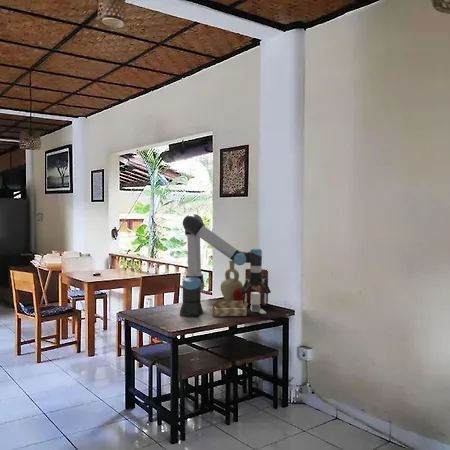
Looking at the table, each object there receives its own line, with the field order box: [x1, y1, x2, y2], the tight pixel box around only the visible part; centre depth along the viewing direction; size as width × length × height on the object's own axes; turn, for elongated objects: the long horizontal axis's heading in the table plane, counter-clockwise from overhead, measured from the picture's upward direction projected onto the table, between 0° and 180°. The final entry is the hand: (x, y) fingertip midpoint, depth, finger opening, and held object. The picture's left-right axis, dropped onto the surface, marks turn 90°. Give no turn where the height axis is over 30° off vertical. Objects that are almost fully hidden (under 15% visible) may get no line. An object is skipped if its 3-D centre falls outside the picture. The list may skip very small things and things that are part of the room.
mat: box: [258, 308, 267, 315], centre depth 325 cm, size 12×12×1 cm
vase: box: [220, 260, 244, 301], centre depth 362 cm, size 17×17×30 cm
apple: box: [233, 287, 250, 305], centre depth 346 cm, size 12×12×13 cm
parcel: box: [249, 292, 261, 313], centre depth 324 cm, size 5×7×12 cm
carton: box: [210, 300, 249, 317], centre depth 314 cm, size 23×13×8 cm, turn 99°
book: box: [244, 268, 269, 306], centre depth 352 cm, size 16×6×25 cm, turn 84°
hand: (255, 303), depth 324 cm, fingers open, 13 cm apart
